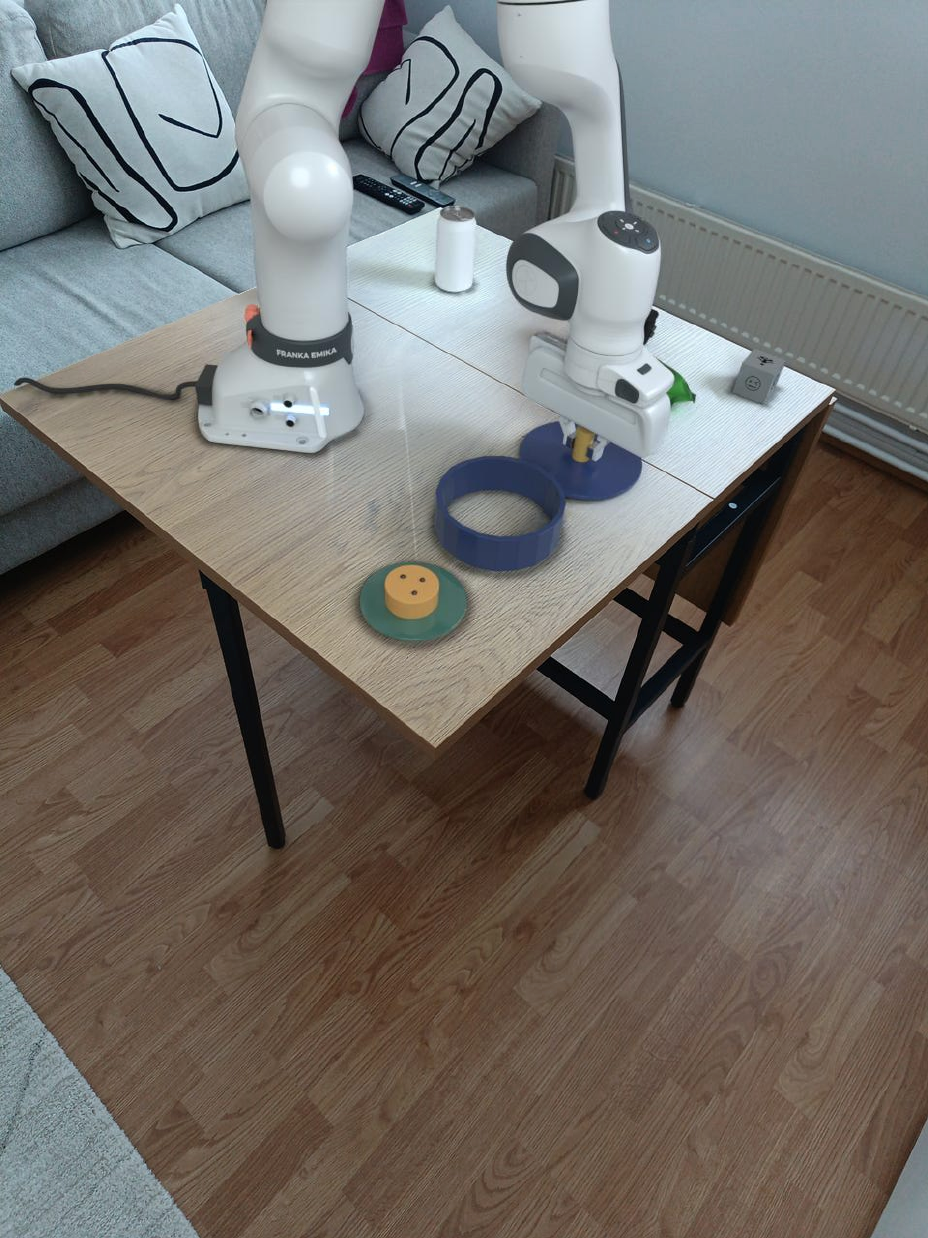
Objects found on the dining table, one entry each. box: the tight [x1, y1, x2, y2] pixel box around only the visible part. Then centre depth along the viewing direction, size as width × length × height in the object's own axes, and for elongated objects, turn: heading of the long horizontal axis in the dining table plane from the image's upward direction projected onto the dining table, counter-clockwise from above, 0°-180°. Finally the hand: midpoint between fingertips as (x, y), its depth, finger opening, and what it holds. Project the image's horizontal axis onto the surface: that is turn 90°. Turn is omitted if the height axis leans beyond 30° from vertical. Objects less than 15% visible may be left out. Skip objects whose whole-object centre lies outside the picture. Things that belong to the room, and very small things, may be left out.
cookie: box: [385, 565, 439, 619], centre depth 97 cm, size 6×6×3 cm
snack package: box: [653, 355, 697, 408], centre depth 128 cm, size 7×16×5 cm, turn 35°
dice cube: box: [731, 348, 787, 405], centre depth 130 cm, size 5×5×5 cm
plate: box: [359, 561, 468, 643], centre depth 98 cm, size 12×12×1 cm
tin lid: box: [518, 420, 643, 501], centre depth 115 cm, size 16×16×6 cm
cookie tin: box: [433, 455, 567, 572], centre depth 106 cm, size 15×15×6 cm
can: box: [434, 205, 477, 294], centre depth 144 cm, size 6×6×12 cm
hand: (582, 451), depth 115 cm, fingers closed on tin lid, 2 cm apart
